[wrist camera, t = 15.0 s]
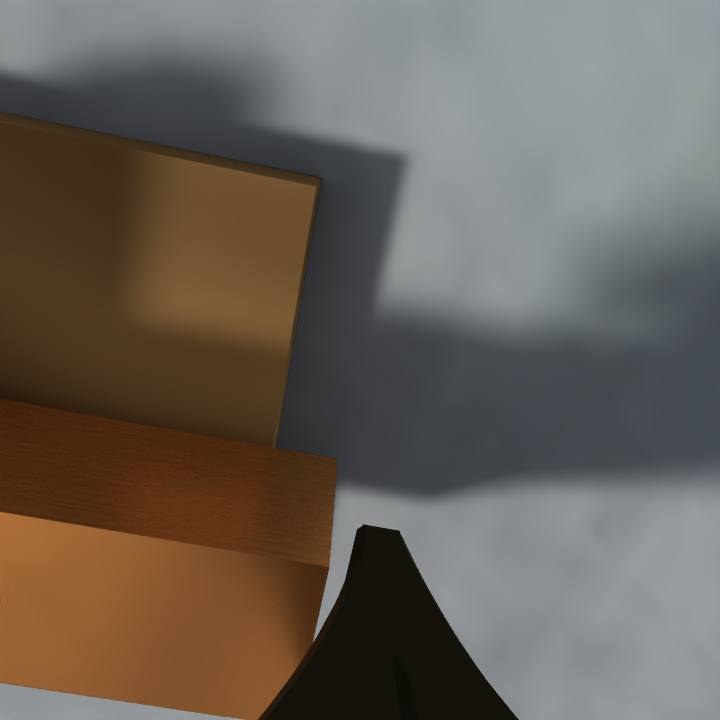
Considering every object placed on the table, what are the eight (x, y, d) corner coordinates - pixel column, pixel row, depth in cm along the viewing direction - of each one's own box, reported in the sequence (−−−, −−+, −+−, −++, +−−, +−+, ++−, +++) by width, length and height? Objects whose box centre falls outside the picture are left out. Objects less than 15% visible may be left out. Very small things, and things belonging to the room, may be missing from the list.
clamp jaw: (284, 703, 15) (257, 909, 11) (-186, 631, 14) (-389, 823, 10) (376, 263, 11) (383, 340, 7) (-243, 140, 10) (-582, 157, 7)
